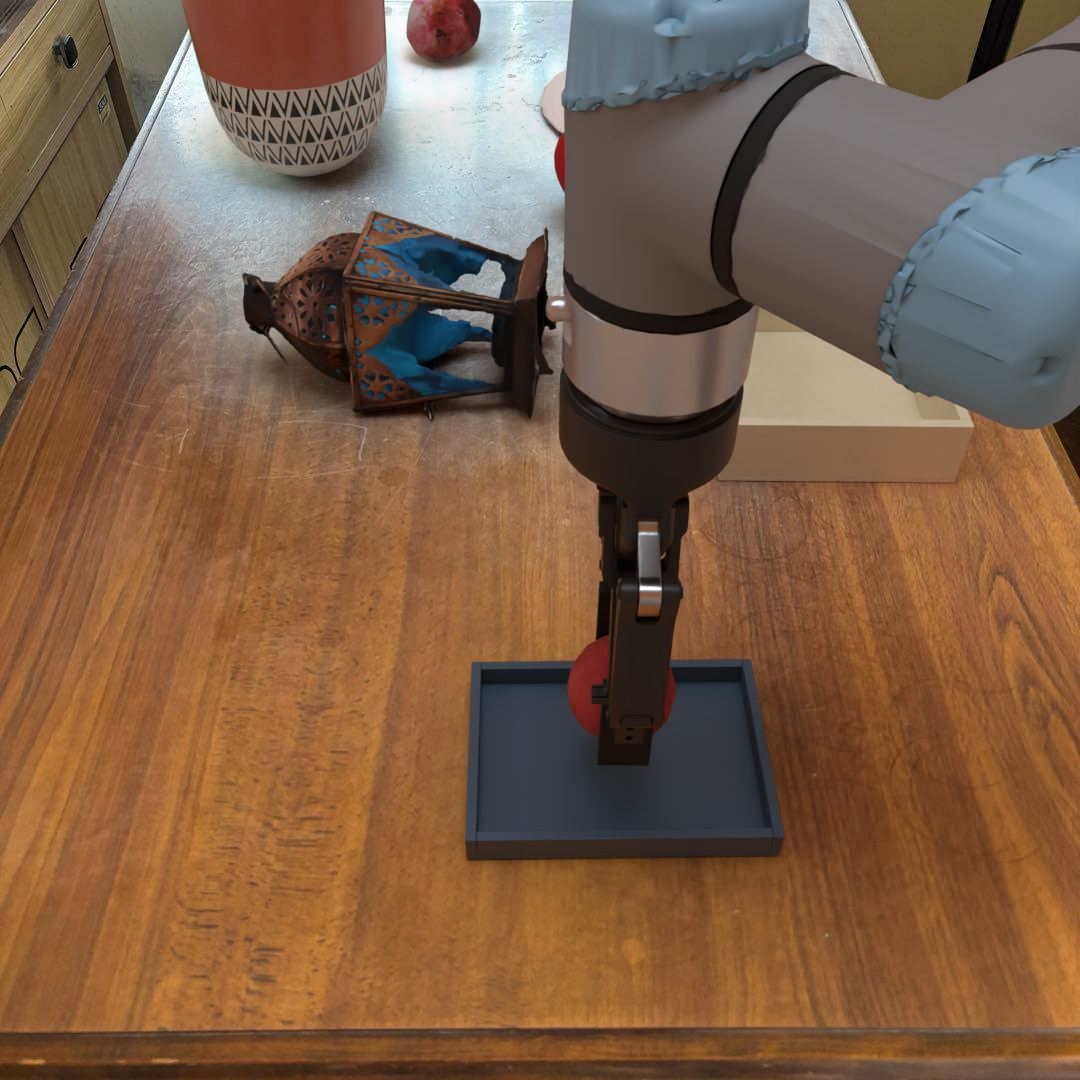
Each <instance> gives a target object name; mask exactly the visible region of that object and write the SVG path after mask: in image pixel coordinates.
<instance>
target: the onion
mask: <svg viewBox="0 0 1080 1080" xmlns="http://www.w3.org/2000/svg"><path fill="white" fill-rule="evenodd" d="M608 648H609V635H607V636H604V637H602V638H600V639H598V640H596V639H595V640H593V641H592V642H589V643H588V644H587V645H585V647H584V648H583V649H582V650H581V652H580V653H579V655H578V656H577V657H576V659H574V660H573V661H574V663H573V665H572V668H571V671H570V676H569V680H568V684H567V692H568V698H569V702H570V707H571V711H572V713H573V715H574V716H575V717H576V719H577V720H578V722H579V723H580V724H581V726H582V727H583V728H584V729H585V730H587V731H588V732H590V733H591V734H593V735H594V736H596V737H597V738H599V724H600V710H601V704H592V702H591V684H596V685H602V683H603V679H607V671H608ZM675 695H676V686H675V681H674V677H673V674H672V671H671V667H670V666H669V674H668V682H667V690H666V698H665V706H664V710H665V721H663V724H664V723H665V722H666V721H667V720H668V718H669V715H670V713H671V710H672V706H673V703H674V699H675ZM659 729H660V728H654V729H653V734H655V733H656V732H657V731H658V730H659Z"/></svg>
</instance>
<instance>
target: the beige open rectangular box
mask: <svg viewBox="0 0 1080 1080" xmlns="http://www.w3.org/2000/svg"><path fill="white" fill-rule="evenodd" d="M743 387H744V392H743V400H742V406H741V411H740V417H739V423H738V429H737V435H736V441H735V447H734V451H733V454H732V456H731V458H730V460H729V462H728V464H727V465H726V467H725V468H724V469H723V470H722V472H721V473H720V474H719V475H717V479H718V481H719V482H720V481H724V482H726V481H728V482H729V481H730V482H732V481H733V482H826V483H827V482H830V483H831V482H833V483H835V482H838V483H840V482H841V483H842V482H844V483H936V484H937V483H938V484H939V483H945V484H947V483H949V484H950V483H952V484H953V483H956V479H957V477H958V473H959V471H960V467H961V466H962V462H963V460H964V457H965V454H966V451H967V449H968V447H969V444H970V440H971V438H972V435H973V433H974V430H975V425H974V422H973V420H972V417H971V415H970V413H969V410H967V409H965V408H963V407H961V406H958V405H956V404H954V403H951V402H949V401H947V400H944V399H942V398H940V397H937V396H933V397H927V396H925V395H923V394H921V393H919V392H917V393H913V392H911V391H910V390H908V389H906V388H905V387H904V386H903V385H902V384H898V383H897V382H895V381H894V380H893V379H892V377H891V376H889V375H887V374H886V373H884V372H882V371H880V370H878V369H876V368H875V367H873V366H871V365H869V364H867V363H865V362H863V361H862V360H860V359H858V358H856V357H854V356H852V355H850V354H848V353H847V352H845V351H843V350H841V349H839V348H837V347H835V346H833V345H831V344H829V343H827V342H826V341H824V340H822V339H820V338H818V337H816V336H814V335H812V334H810V333H808V332H806V331H805V330H803V329H801V328H799V327H797V326H795V325H793V324H791V323H789V322H787V321H785V320H783V319H782V318H780V317H778V316H776V315H774V314H772V313H770V312H768V311H766V310H764V309H762V308H761V307H760V308H759V314H758V320H757V326H756V331H755V337H754V343H753V349H752V354H751V360H750V366H749V372H748V377H747V379H746V380H745V381H744V383H743Z"/></svg>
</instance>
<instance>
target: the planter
mask: <svg viewBox="0 0 1080 1080" xmlns="http://www.w3.org/2000/svg"><path fill="white" fill-rule="evenodd" d="M180 2H181V6H182V9H183V13H184V17H185V20H186V24H187V29H188V32H189V36H190V39H191V43H192V47H193V51H194V54H195V57H196V61H197V64H198V68H199V72H200V75H201V79H202V82H203V87H204V89H205V93H206V95H207V98H208V101H209V104H210V106H211V108H212V111H213V113H214V115H215V117H216V119H217V121H218V123H219V125H220V126H221V127H220V128H222V130H223V131H224V133H225V135H226V136H227V138H228V139H229V141H231V143H232V144H233V145H234V146H235V147H236V148H237V149H238V150H239V151H240V152H241V153H243V154H244V155H245V156H246V157H248V158H249V159H250V160H252V161H254V162H255V163H256V164H259V165H260V166H261V167H263V168H266V169H268V170H270V171H272V172H276V173H278V174H282V175H285V176H290V177H291V176H293V177H315V176H316V177H317V176H321V175H326V174H328V173H332V172H336V171H337V170H339V169H341V168H344V167H345V166H347V165H348V164H350V163H351V162H352V161H353V160H355V159H356V158H358V156H359V155H360V154H361V153H362V152H364V150H365V149H366V148H367V147H368V145H369V144H370V143H371V141H372V140H373V138H374V137H375V135H376V133H377V132H378V130H379V127H380V125H381V122H382V119H383V115H384V112H385V106H386V100H387V92H388V52H387V51H388V49H387V23H386V4H385V0H180Z"/></svg>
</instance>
